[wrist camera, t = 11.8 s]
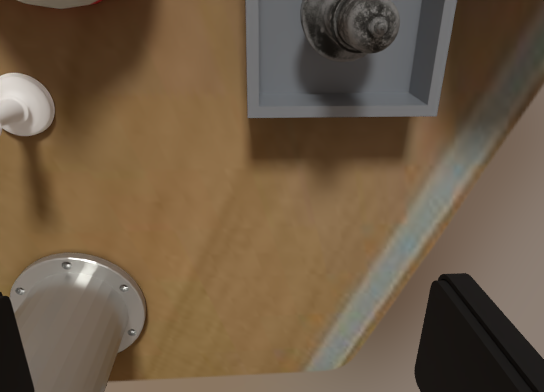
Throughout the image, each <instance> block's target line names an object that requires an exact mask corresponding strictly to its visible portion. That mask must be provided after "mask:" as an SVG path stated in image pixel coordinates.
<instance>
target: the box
mask: <svg viewBox="0 0 544 392" xmlns="http://www.w3.org/2000/svg"><path fill="white" fill-rule="evenodd" d="M391 1H392V2H393V3H394V4H395V6H396V8H397V10H398V12H399V17H400V27H399V31H398V34H397V36H396V38H395V40H394V41H393V42H392V43H391V45H390V46H389V47H387V48H386V49H384V50H383V51H380V52H377V53H371V54H367V55H366V56H364V57H362V58H359V59H357V60H354V61H348V62H338V61H332V60H329V59H327V58H325V57H323V56H321V55H320V54H319V53H318V52H316V51H315V50H314V49H313V48H312V47H311V45H310V43H309V42H308V40H307V39H306V36H305V33H304V30H303V27H302V23H301V15H300V10H301V4H302V0H246V54H247V106H248V118H299V117H404V116H437V111H438V106H439V100H440V94H441V89H442V83H443V77H444V72H445V66H446V60H447V55H448V49H449V43H450V38H451V32H452V26H453V21H454V15H455V9H456V3H457V0H391Z"/></svg>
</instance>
